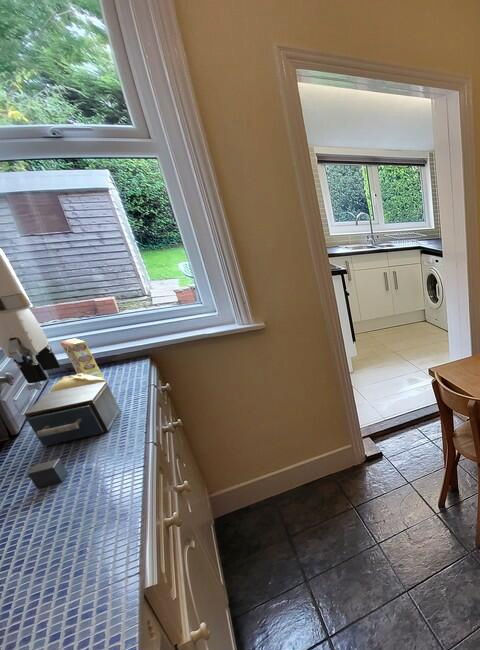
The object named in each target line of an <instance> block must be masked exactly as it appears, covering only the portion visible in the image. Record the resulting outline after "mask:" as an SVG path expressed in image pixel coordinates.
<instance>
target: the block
mask: <svg viewBox="0 0 480 650" xmlns="http://www.w3.org/2000/svg"><path fill="white" fill-rule="evenodd" d="M68 474H69V472H68V470H67V469H66V467H65V466H64V463H63V462H62V460H61V459H60V458H56V459H52V460H49V461H45V462H41V463H37V464H34V465H33V466H32V468H31V469H30V470H29V472H28V473H27V475H28V477H29V479H30V480H31V482H32V483H33V485H34V486H35V488H36V489H37V490H39V489H43V488H46V487H50V486H55V485H57V484H61V483H63V482H64V481H65V479H66V477H68Z"/></svg>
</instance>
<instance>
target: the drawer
mask: <svg viewBox="0 0 480 650" xmlns="http://www.w3.org/2000/svg"><path fill="white" fill-rule="evenodd" d="M26 421H27V422H28V424H29V426H30V427H31V429H32V430H33V432H34V434H35V435H36V436H37V439H38V440H39V442H40V443H41V445H42V446H43V447H44V446H46V445H50V444H54V445H56V444H55V443H59V442H63V441H67V440H71V441H73V440H72V439H75V440H77V439H76V438H80V437H84V436H88V437H90V436H89V435H92V436H94V435H93V434H97V433H101V432H103V431H104V430H103V428H102V426H101V424H100V422H99V420H98V419H97V417H96V415H95V413H94V411H93V409H92V407H91V406H90V403H89V404H84V405H80V406H75V407H70V408H65V409H60V410H56V411H51V412H46V413H41V414H36V415H35V416H33V417H28V418H26ZM101 434H102V433H101ZM97 435H98V434H97ZM84 438H85V437H84ZM80 439H81V438H80ZM67 442H68V441H67ZM63 443H64V442H63ZM59 444H60V443H59ZM50 446H51V445H50ZM46 447H47V446H46Z"/></svg>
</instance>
